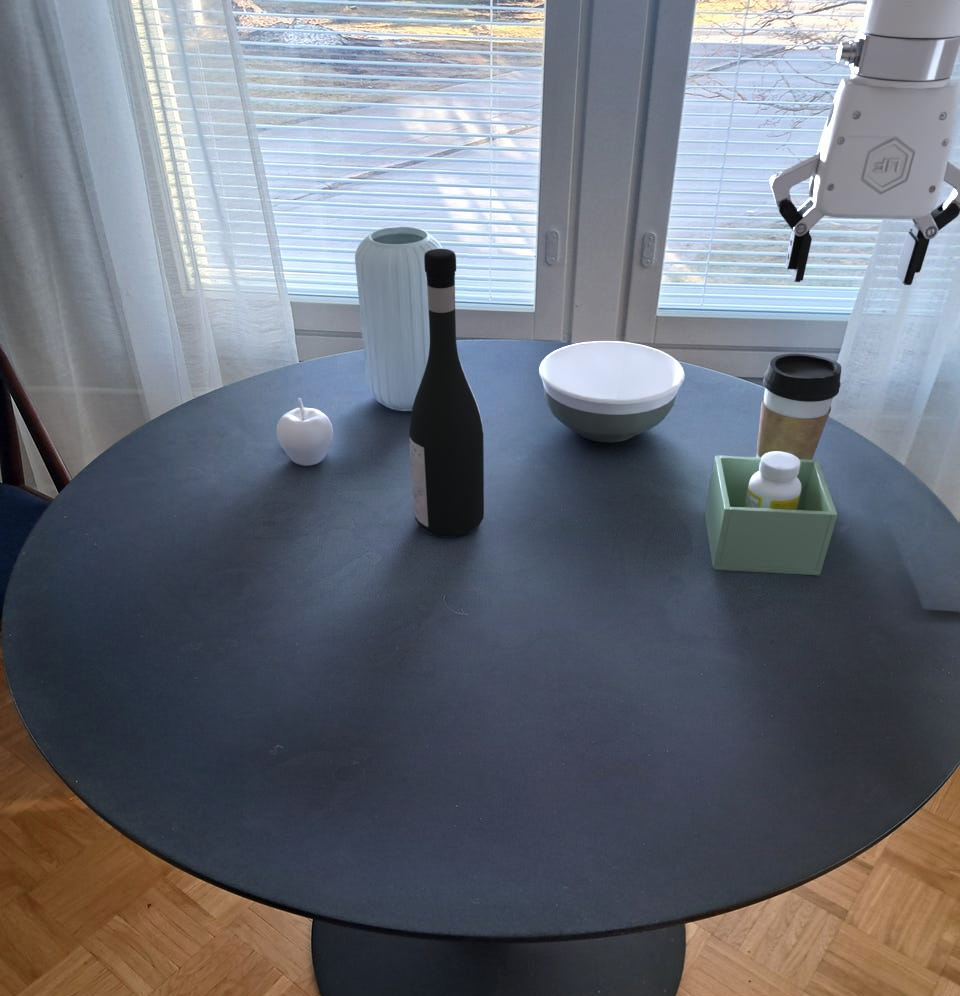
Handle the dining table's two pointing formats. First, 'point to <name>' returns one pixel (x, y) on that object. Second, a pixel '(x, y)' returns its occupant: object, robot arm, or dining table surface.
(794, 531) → the bin
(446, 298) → the wine bottle
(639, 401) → the bowl
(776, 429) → the coffee cup
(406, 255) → the vase
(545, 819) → the dining table surface
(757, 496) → the supplement bottle
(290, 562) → the dining table surface
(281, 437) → the plain white apple
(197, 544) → the dining table surface
